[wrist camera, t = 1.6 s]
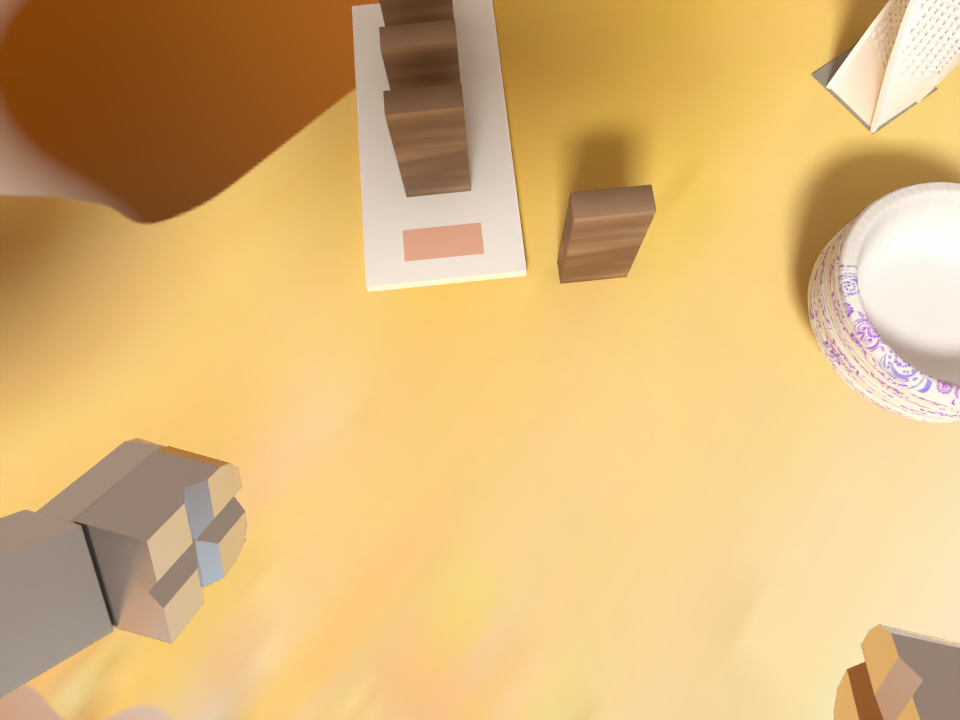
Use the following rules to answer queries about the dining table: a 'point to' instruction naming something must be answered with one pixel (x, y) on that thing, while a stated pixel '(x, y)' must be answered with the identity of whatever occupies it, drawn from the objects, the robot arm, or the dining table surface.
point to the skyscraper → (896, 60)
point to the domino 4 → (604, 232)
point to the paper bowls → (895, 302)
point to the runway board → (451, 216)
